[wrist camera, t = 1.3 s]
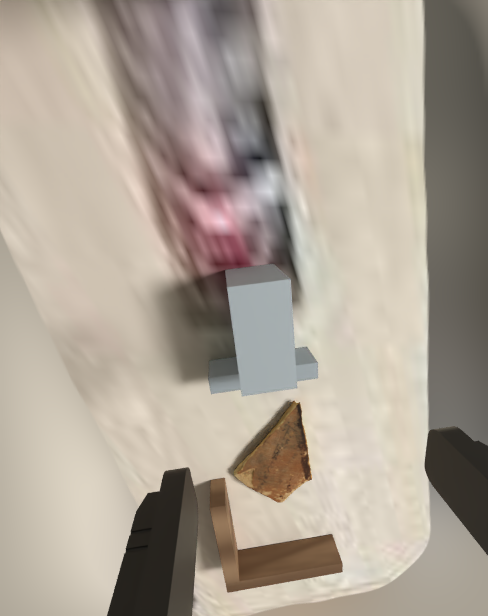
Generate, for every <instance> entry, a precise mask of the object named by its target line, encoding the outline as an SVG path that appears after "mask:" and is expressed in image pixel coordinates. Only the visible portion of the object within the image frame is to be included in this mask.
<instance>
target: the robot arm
mask: <svg viewBox="0 0 488 616" xmlns="http://www.w3.org/2000/svg"><path fill="white" fill-rule="evenodd" d="M425 471H426V474H427V476H428V479H429V481H430V482H431V484H432V485H433V487H434V488H435V489H436V491H437V492H438V493H439V494H440V496H441V497H442V498H443V499H444V501H445V502H446V503H447V504H448V506H449V507H450V508H451V509H452V511H453V512H454V513H455V515H456V516H457V517H458V518H459V519H460V521H461V522H462V523H463V525H464V526H465V527H466V528H467V530H468V531H469V532H470V534H471V535H472V536H473V537H474V539H475V540H476V541H477V542H478V544H479V545H480V546H481V547H482V549H483V550H484V551H485V552H486V554H487V555H488V446H487V445H485V444H483V443H481V442H479V441H475V442H474V441H473V440H472V439H471V438H470V437H469V436H468V435H466V434H465V433H464V432H463V431H462V430H461V429H459V428H458V427H454V426H452V427H446V428H439V429H433V430H430V431H429V433H428V439H427V447H426V456H425ZM197 533H198V505H197V499H196V494H195V490H194V486H193V481H192V477H191V473H190V469H189V468H188V467H187V468H181V469H175V470H168V471H165V472H164V475H163V479H162V483H161V488H160V491H159V492H152V493H148V494H147V495H146V497H145V499H144V500H143V502H142V503H141V505H140V506H139V508H138V510H137V511H136V514H135V518H134V521H133V525H132V529H131V535H130V536H129V539H128V543H127V546H126V553H125V554H124V557H123V561H122V564H121V568H120V572H119V575H118V579H117V582H116V586H115V589H114V593H113V597H112V600H111V604H110V607H109V611H108V614H107V616H192V606H193V592H194V577H195V562H196V548H197Z"/></svg>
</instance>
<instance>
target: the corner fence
mask: <svg viewBox="0 0 488 616" xmlns="http://www.w3.org/2000/svg"><path fill="white" fill-rule="evenodd" d="M210 512H211V517H212V521H213V526H214V531H215V535H216V540H217V545H218V550H219V554H220V559H221V564H222V569H223V573H224V578H225V583H226V588H227V592H234V591H239V590H245V589H251V588H256V587H262V586H267V585H273V584H279V583H284V582H290V581H295V580H301V579H307V578H312V577H318V576H323V575H329V574H335V573H340V572H342V561H341V558H340V555H339V552H338V550H337V547H336V544H335V541H334V538H333V535H332V534H331V535H325V536H320V537H314V538H308V539H302V540H296V541H291V542H285V543H279V544H273V545H267V546H262V547H256V548H250V549H244V550H237V544H236V538H235V533H234V527H233V522H232V516H231V510H230V505H229V499H228V494H227V488H226V482H225V478H222V479H215V480H211V484H210Z"/></svg>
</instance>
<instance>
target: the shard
mask: <svg viewBox="0 0 488 616" xmlns="http://www.w3.org/2000/svg"><path fill="white" fill-rule="evenodd" d="M301 414H302V410H301V405H300V402H299V403H296V402H295V401H293V403H292V404H291V405H290V407H289V408H288V409H287V410H286V411H285V413H284V414H283V416H282V417H281V419H280V420H279V422H278V423H277V424H276V425H275V427H274V428H273V429H272V430H271V432H269V433H268V435H267V436H266V438H265V439H264V440H263V441H262V442H261V443H260V444H259V445H258V446H257V447H256V448H255V450H254V451H253V452H252V453H251V454H250V455H248V456H247V457H246V458H245V459H244V460H243V461H242V462H241V463H240V464H239V465H238V467H237V469H235V470H234V476H235V477H236V478H237V479H239V480H240V481H241V482H243V483H244V484H245V485H246V486H247V487H249V488H252V489H253V490H255V491H257V492H260V493H261V494H263V495H265V496H267V497H270V498H271V499H273V500H274V501H276V502H278V503H279V502H283V501H284V500H286V499H287V497H288V496H289V495H290V494H292V492H293V491H294V490H296V489H297V488H298V487H300V486H301V485H302V484H304V483H305V482H306V481H309V480H312V475H311V469H310V463H309V456H308V447H307V440H306V435H305V430H304V426H303V424H302V416H301Z"/></svg>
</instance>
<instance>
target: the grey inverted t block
mask: <svg viewBox="0 0 488 616" xmlns="http://www.w3.org/2000/svg"><path fill="white" fill-rule="evenodd" d="M225 274H226V283H227V291H228V298H229V305H230V313H231V320H232V327H233V335H234V342H235V349H236V357H231V358H224V359H217V360H210V361H209V375H208V380H209V385H210V391H211V394H215V393H222V392H228V391H235V390H241V393H242V396H247V395H254V394H261V393H268V392H274V391H281V390H288V389H294V388H297V381H303V380H310V379H316V378H318V362H317V361H316V359H315V358H314V356H313V355H312V353H311V352H310V351H309V349H308V348H307V347H301V348H295V343H294V327H293V311H292V294H291V279H290V278H289V277H288V276H286V275H285V274H284V273H283V272H282V271H281V270H280V269H278V268H277V267H276V266H275V265H274V264H268V265H260V266H252V267H245V268H237V269H229V270H225Z"/></svg>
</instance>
